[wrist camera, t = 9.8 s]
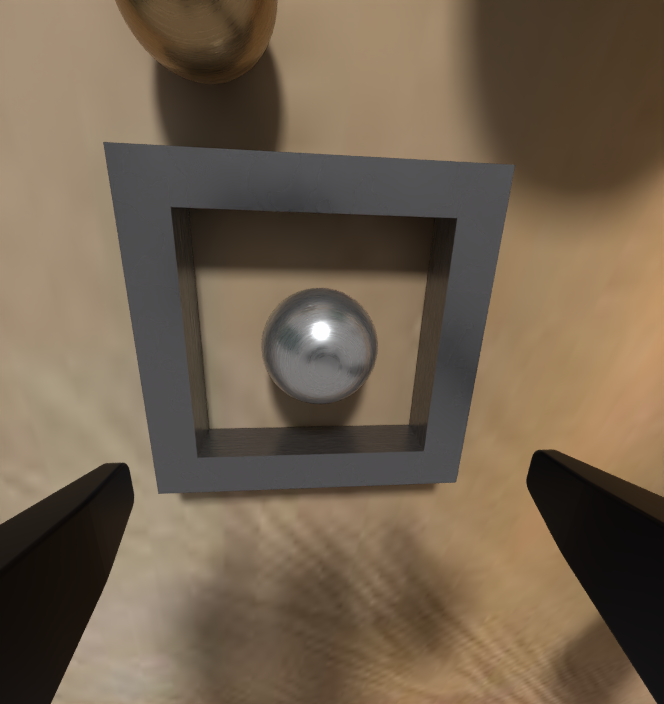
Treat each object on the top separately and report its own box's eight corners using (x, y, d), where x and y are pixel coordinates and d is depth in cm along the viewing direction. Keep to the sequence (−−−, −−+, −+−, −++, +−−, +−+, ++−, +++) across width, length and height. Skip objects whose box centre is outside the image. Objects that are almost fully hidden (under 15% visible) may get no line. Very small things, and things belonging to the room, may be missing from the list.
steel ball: (360, 374, 20) (386, 423, 15) (264, 376, 19) (260, 429, 14) (367, 279, 18) (398, 302, 13) (261, 278, 17) (256, 301, 12)
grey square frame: (438, 453, 22) (455, 482, 19) (174, 461, 20) (158, 493, 18) (483, 171, 17) (515, 164, 14) (133, 153, 15) (103, 142, 13)
